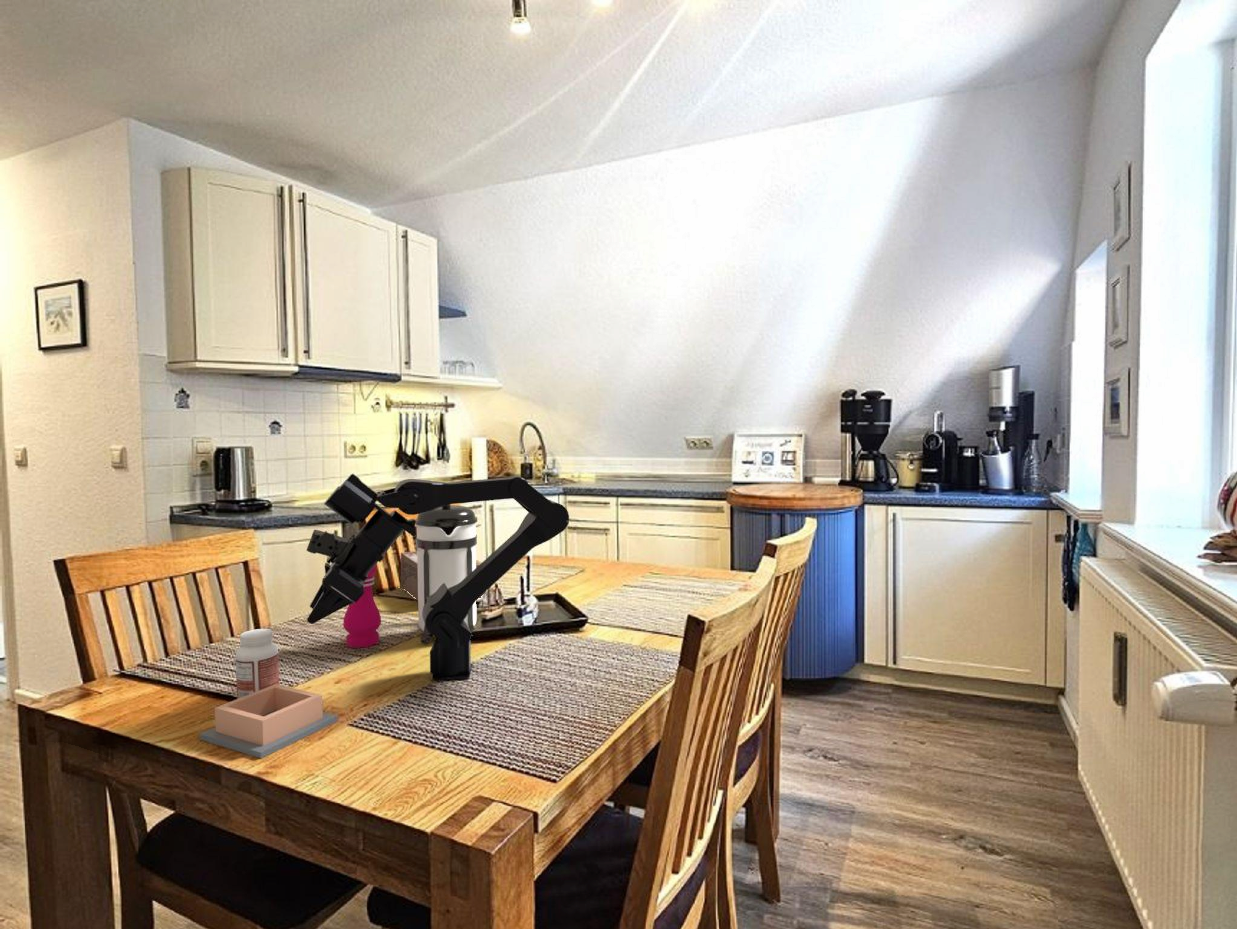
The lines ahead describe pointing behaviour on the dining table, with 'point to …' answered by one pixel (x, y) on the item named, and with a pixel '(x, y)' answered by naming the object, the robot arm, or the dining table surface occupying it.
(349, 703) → the dining table surface
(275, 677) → the pill bottle
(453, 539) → the coffee press
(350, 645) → the pepper mill
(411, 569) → the tissue box cover
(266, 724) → the bottle stand
